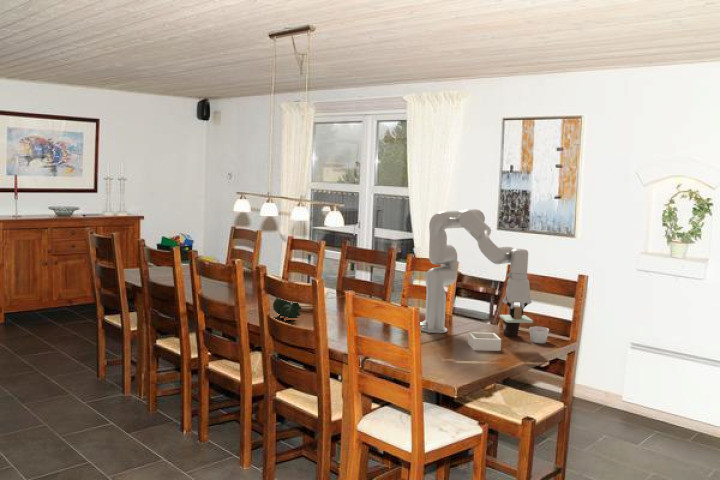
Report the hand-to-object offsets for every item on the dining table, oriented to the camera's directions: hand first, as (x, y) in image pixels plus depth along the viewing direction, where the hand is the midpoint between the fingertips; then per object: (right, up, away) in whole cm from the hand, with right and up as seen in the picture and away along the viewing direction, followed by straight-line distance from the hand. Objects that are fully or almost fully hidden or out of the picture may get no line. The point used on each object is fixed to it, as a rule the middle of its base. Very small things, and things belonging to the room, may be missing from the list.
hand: (516, 316), depth 306 cm
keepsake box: (-15, -15, 0) cm, 21 cm away
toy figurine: (-108, -7, +44) cm, 117 cm away
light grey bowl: (+14, -14, +17) cm, 27 cm away
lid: (0, -1, 0) cm, 1 cm away
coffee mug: (+3, -13, +26) cm, 29 cm away
